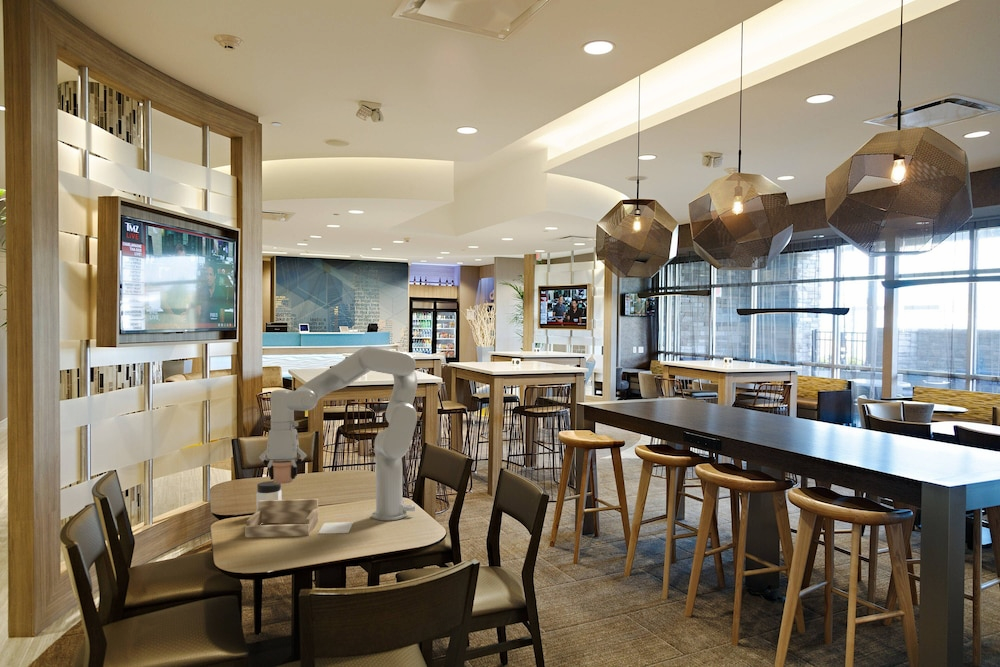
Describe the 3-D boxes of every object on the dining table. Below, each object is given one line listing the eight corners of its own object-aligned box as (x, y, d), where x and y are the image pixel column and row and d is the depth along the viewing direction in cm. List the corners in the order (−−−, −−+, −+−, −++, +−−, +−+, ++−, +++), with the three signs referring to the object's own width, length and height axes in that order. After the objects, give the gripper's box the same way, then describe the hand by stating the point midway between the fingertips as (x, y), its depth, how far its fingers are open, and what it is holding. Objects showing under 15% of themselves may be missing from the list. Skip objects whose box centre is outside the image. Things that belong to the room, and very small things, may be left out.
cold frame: (318, 521, 233) (317, 498, 233) (308, 535, 217) (308, 511, 217) (259, 523, 231) (259, 500, 231) (245, 537, 215) (244, 513, 215)
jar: (259, 520, 234) (259, 487, 234) (253, 515, 241) (253, 483, 241) (284, 516, 239) (284, 483, 239) (278, 511, 246) (278, 479, 246)
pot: (296, 479, 228) (296, 458, 228) (291, 483, 221) (291, 462, 221) (275, 479, 227) (274, 459, 227) (269, 484, 220) (269, 463, 220)
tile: (353, 522, 231) (353, 521, 231) (348, 533, 219) (348, 532, 219) (324, 523, 230) (324, 522, 230) (317, 534, 218) (317, 533, 218)
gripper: (310, 424, 228) (311, 475, 228) (259, 425, 227) (260, 476, 227) (306, 427, 221) (306, 480, 221) (253, 428, 219) (253, 481, 219)
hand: (283, 478), depth 224 cm, fingers closed on pot, 6 cm apart
